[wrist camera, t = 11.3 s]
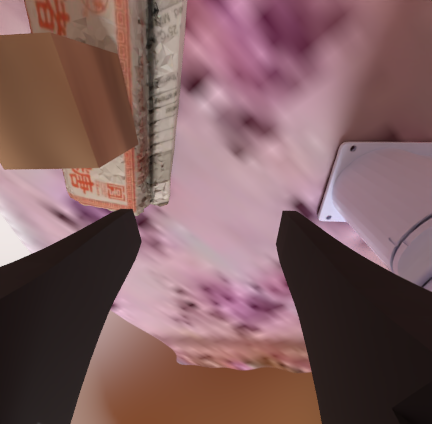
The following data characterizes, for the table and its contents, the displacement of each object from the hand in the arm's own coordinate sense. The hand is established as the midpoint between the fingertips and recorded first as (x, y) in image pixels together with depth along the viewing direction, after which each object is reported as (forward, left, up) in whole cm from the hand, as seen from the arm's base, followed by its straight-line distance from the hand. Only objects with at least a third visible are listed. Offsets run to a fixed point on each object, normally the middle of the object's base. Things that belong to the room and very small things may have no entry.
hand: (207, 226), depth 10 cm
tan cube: (+8, -5, -6) cm, 11 cm away
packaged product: (+8, -5, -11) cm, 15 cm away
